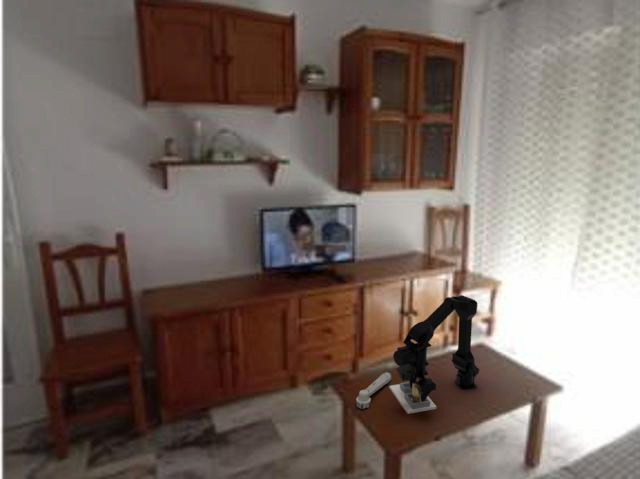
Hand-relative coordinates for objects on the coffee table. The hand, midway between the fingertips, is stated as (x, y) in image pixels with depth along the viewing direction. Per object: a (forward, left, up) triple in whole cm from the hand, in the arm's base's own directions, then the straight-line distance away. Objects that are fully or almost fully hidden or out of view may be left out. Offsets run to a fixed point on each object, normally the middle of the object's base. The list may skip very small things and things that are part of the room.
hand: (417, 394), depth 173 cm
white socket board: (0, -5, -4) cm, 6 cm away
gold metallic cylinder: (0, 0, -3) cm, 3 cm away
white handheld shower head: (+13, -12, -5) cm, 18 cm away
